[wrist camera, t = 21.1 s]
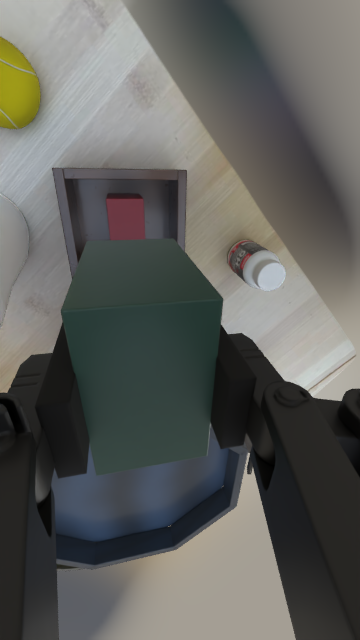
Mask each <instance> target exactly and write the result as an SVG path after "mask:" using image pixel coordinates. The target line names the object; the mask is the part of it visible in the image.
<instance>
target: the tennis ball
mask: <svg viewBox="0 0 360 640" xmlns="http://www.w3.org/2000/svg"><path fill="white" fill-rule="evenodd" d="M40 97H41V94H40V85H39V81H38V78H37V75H36V73H35V71H34V69H33V68H32V66H31V64H30V63H29V62H28V60H27V59H26V57H25V56H24V55H23V54H22V53H21V52H20V51H19V50H18V49H17V48H16V47H15V46H14V45H13V44H11V43H10V42H8V41H7V40H5V39H4V38H2V37H0V127H3V128H8V129H20V128H23V127H25V126H27V125H28V124H29V123H30V122H31V121H32V120H33V119H34V118H35V116H36V114H37V112H38V110H39V106H40Z"/></svg>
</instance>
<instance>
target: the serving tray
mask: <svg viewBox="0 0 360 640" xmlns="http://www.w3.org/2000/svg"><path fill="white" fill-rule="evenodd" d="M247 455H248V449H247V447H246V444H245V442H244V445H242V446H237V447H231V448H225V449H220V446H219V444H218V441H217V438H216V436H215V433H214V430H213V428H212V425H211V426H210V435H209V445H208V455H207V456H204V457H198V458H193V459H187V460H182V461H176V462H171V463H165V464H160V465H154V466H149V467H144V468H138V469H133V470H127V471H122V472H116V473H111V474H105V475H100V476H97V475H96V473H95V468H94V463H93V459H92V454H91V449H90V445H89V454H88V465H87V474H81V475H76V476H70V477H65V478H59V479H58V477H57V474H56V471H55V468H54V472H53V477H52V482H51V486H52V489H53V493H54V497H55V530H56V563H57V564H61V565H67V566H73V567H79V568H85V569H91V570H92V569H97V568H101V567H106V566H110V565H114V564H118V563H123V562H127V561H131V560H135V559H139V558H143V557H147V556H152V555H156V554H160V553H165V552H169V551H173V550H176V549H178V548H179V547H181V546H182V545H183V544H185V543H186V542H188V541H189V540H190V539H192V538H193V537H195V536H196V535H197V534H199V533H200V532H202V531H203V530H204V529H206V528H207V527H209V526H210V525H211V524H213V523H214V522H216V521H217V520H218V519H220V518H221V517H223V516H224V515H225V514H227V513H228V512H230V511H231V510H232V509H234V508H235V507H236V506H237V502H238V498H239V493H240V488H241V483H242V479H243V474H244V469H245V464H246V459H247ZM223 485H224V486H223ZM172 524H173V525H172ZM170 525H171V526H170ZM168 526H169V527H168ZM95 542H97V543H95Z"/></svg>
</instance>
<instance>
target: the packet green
mask: <svg viewBox="0 0 360 640" xmlns="http://www.w3.org/2000/svg"><path fill="white" fill-rule="evenodd" d="M222 306H223V298H222V297H221V295H220V294H219V293H218V292H217V291H216V289H215V288H214V287H213V286H212V284H211V283H210V282H209V281H208V280H207V278H206V277H205V276H204V275H203V274H202V272H201V271H200V270H199V269H198V268H197V266H196V265H195V264H194V263H193V261H192V260H191V259H190V258H189V257H188V255H187V254H186V253H185V252H184V251H183V249H182V248H181V247H180V246H179V244H178V243H177V242H176V241H175V240H174V239H141V240H107V241H87V242H86V245H85V247H84V250H83V253H82V255H81V258H80V261H79V263H78V266H77V269H76V271H75V274H74V277H73V280H72V282H71V285H70V288H69V290H68V293H67V296H66V298H65V301H64V304H63V306H62V309H61V315H62V320H63V324H64V329H65V334H66V338H67V343H68V347H69V352H70V357H71V361H72V366H73V371H74V373H75V374H76V379H77V384H78V389H79V393H80V398H81V403H82V407H83V412H84V417H85V421H86V426H87V431H88V435H89V440H90V443H89V445H90V449H91V454H92V459H93V463H94V468H95V473H96V475H97V476H100V475H105V474H111V473H116V472H122V471H127V470H133V469H138V468H144V467H149V466H154V465H160V464H165V463H171V462H176V461H182V460H187V459H193V458H198V457H204V456H207V455H208V445H209V435H210V426H211V422H210V420H211V409H212V399H213V389H214V379H215V369H216V359H217V356H218V346H219V336H220V326H221V316H222Z"/></svg>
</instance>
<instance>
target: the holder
mask: <svg viewBox="0 0 360 640" xmlns="http://www.w3.org/2000/svg"><path fill="white" fill-rule="evenodd" d="M52 170H53V176H54V181H55V187H56V192H57V198H58V203H59V209H60V214H61V220H62V225H63V231H64V236H65V242H66V247H67V253H68V258H69V264H70V269H71V275H72V280H73V277H74V274H75V271H76V269H77V266H78V263H79V261H80V258H81V255H82V253H83V250H84V247H85V245H86V242H87V241H107V240H110V234H109V224H108V215H107V205H106V197H107V194H108V193H139V194H140V195H141V197H142V198H143V199H144V220H145V239H174V240H175V241H176V242H177V243H178V244H179V246H180V247H181V248H182V249H183V251H184V252H185V223H186V182H187V170H164V169H107V168H52Z"/></svg>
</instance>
